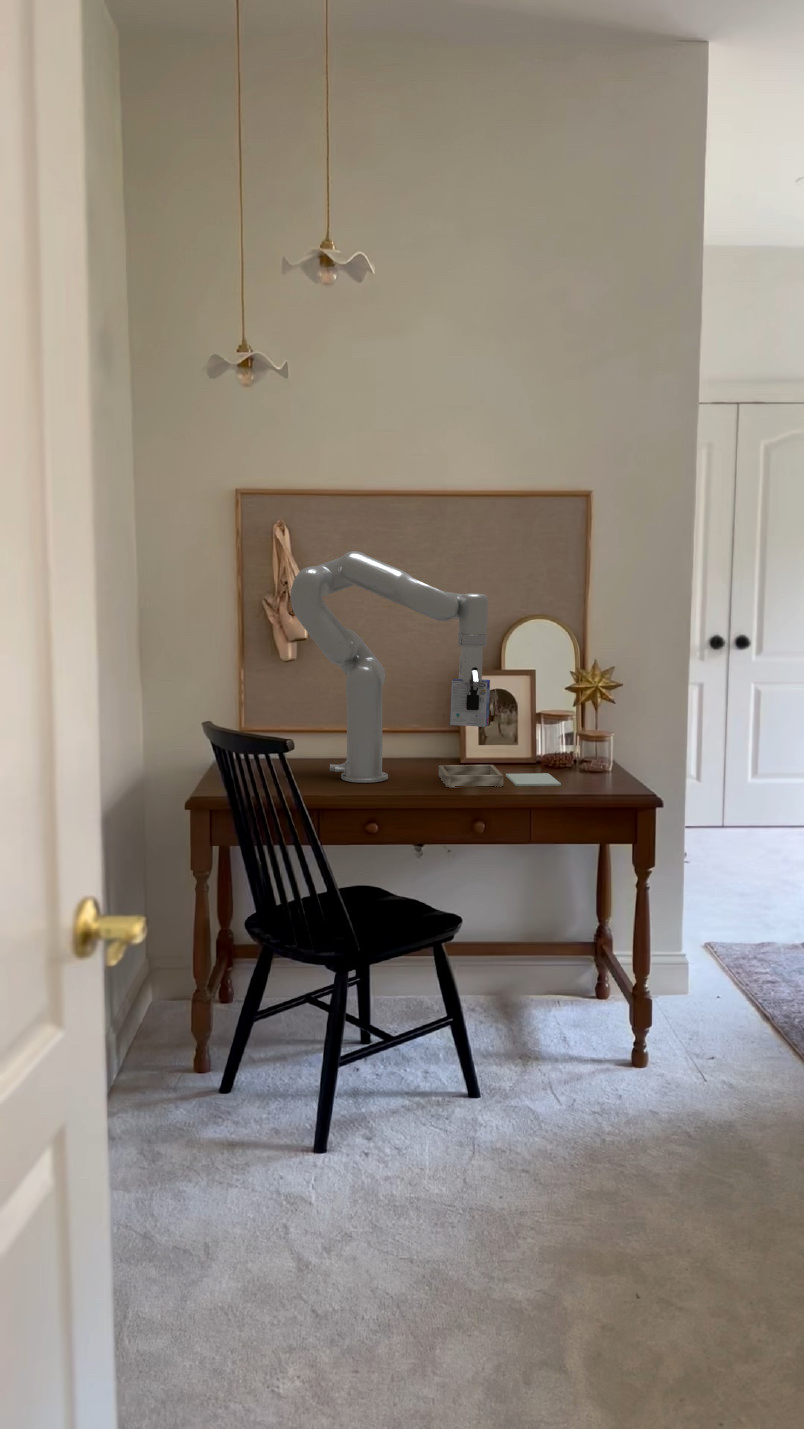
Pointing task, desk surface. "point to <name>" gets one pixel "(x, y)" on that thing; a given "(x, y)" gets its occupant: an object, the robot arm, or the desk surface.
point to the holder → (470, 775)
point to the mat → (533, 779)
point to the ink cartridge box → (458, 704)
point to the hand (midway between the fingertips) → (470, 707)
